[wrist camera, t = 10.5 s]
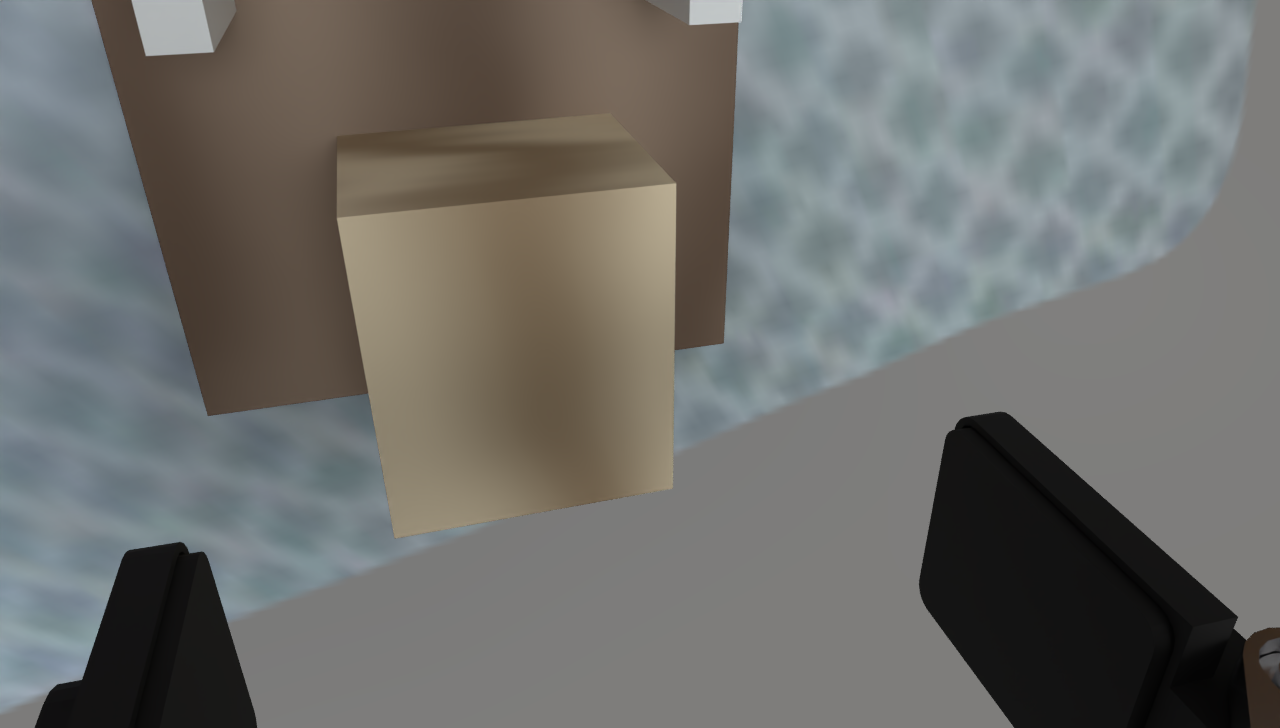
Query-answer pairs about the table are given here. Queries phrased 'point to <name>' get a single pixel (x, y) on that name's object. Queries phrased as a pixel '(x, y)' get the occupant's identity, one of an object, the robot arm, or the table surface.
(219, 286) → the channel board
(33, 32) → the table surface
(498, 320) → the maple block
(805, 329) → the table surface
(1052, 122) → the table surface
